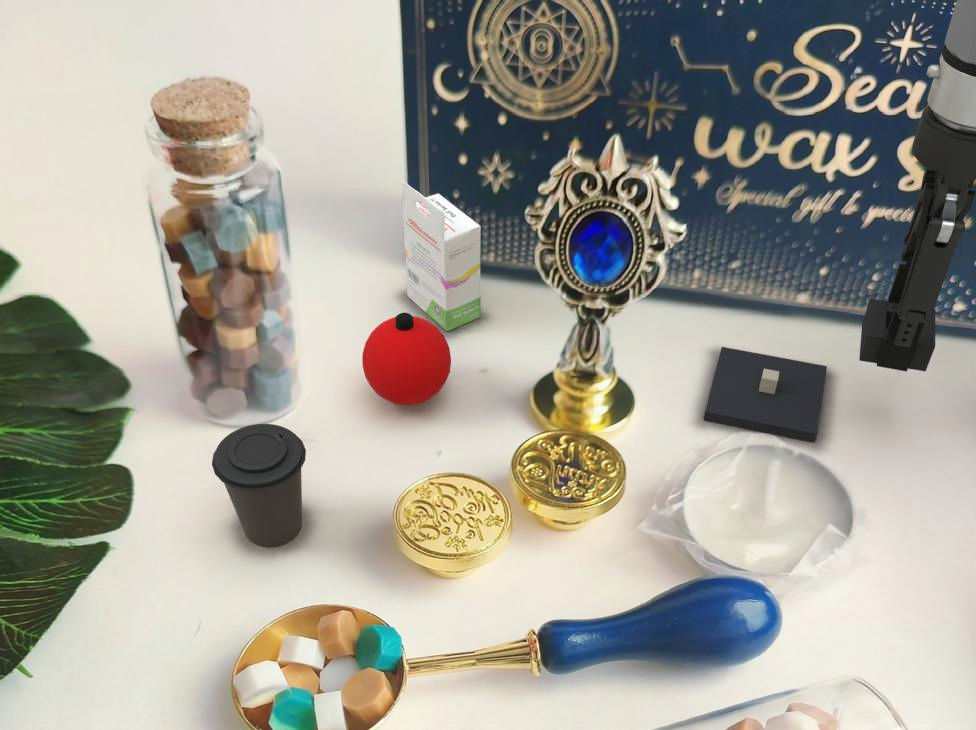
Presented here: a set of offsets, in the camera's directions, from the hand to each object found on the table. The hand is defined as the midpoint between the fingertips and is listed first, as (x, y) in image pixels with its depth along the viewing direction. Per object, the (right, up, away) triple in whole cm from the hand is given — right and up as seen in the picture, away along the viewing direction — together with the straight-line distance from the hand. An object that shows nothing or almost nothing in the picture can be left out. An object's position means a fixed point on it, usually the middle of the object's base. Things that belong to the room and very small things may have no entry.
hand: (893, 344), depth 102 cm
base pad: (-10, -4, +9) cm, 14 cm away
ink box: (-43, +7, +20) cm, 48 cm away
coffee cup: (-59, -17, -3) cm, 61 cm away
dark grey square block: (0, 0, 0) cm, 0 cm away
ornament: (-47, -4, +10) cm, 48 cm away
